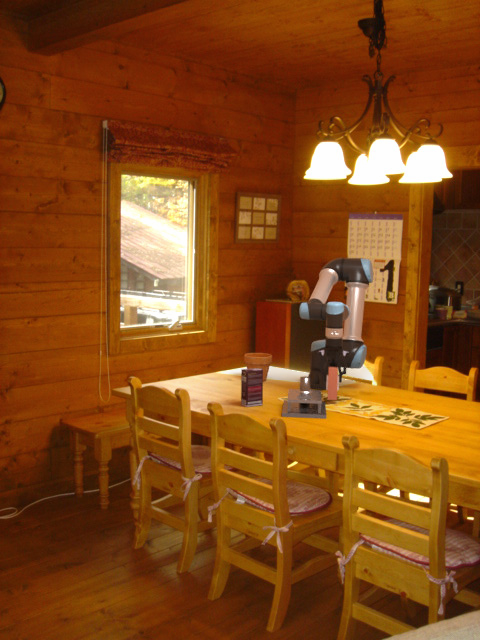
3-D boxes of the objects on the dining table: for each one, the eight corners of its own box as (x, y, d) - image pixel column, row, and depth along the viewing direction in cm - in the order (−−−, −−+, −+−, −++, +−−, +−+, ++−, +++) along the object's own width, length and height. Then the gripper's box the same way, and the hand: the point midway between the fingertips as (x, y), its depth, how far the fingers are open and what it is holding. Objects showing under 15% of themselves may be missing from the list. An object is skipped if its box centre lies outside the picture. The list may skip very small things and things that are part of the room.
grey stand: (281, 416, 297) (282, 385, 296) (283, 403, 321) (284, 374, 319) (326, 418, 296) (327, 387, 294) (325, 405, 319) (326, 376, 318)
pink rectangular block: (327, 399, 321) (328, 368, 319) (327, 397, 325) (328, 366, 323) (336, 399, 321) (337, 368, 319) (336, 397, 325) (337, 366, 323)
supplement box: (256, 403, 320) (257, 367, 319) (262, 405, 316) (263, 369, 314) (240, 405, 316) (240, 369, 314) (245, 407, 312) (246, 370, 310)
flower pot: (245, 376, 380) (246, 352, 379) (272, 378, 378) (273, 353, 377) (241, 382, 366) (242, 356, 365) (270, 383, 364) (270, 357, 363)
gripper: (314, 338, 316) (313, 390, 319) (354, 339, 315) (352, 392, 318) (314, 335, 324) (313, 386, 327) (353, 336, 322) (351, 388, 325)
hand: (332, 389), depth 322 cm, fingers closed on pink rectangular block, 4 cm apart
